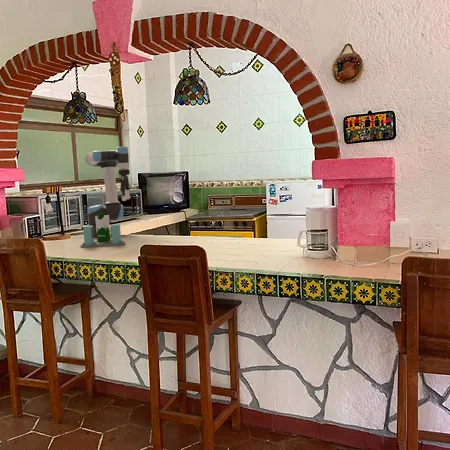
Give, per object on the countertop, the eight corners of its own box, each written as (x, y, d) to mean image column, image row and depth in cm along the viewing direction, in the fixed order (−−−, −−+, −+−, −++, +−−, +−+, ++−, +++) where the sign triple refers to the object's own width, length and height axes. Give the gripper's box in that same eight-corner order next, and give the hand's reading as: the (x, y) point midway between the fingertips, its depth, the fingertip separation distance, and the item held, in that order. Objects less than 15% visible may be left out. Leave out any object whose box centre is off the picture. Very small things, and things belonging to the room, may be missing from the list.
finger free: (112, 242, 321) (111, 224, 319) (121, 241, 321) (119, 224, 319) (111, 243, 316) (109, 225, 314) (119, 243, 316) (118, 225, 314)
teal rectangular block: (86, 243, 320) (85, 225, 319) (95, 243, 320) (93, 225, 319) (84, 244, 315) (83, 226, 314) (93, 244, 315) (91, 226, 314)
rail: (83, 245, 321) (83, 241, 321) (125, 243, 322) (125, 239, 322) (80, 247, 314) (80, 243, 314) (123, 245, 315) (123, 241, 315)
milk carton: (95, 242, 335) (93, 213, 333) (100, 240, 344) (98, 212, 341) (108, 241, 334) (105, 213, 332) (112, 239, 343) (110, 212, 341)
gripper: (121, 169, 344) (124, 198, 347) (114, 169, 319) (116, 201, 322) (132, 168, 344) (134, 198, 347) (126, 169, 319) (128, 201, 322)
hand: (126, 200), depth 334 cm, fingers open, 13 cm apart
